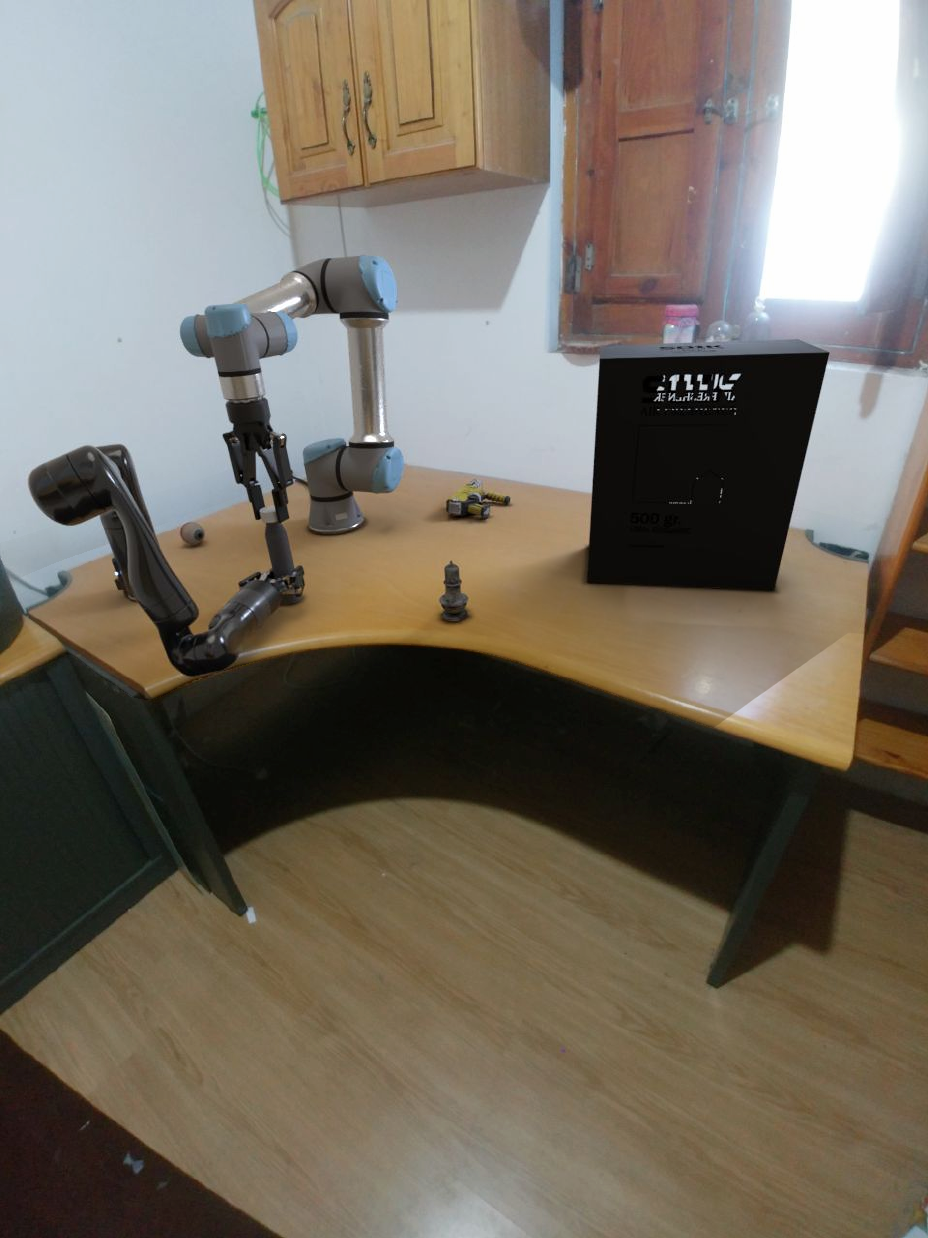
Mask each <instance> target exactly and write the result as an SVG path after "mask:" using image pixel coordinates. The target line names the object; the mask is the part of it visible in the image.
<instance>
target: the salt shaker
mask: <svg viewBox="0 0 928 1238" xmlns="http://www.w3.org/2000/svg"><path fill="white" fill-rule="evenodd" d="M443 570H444V580H443V582H442V583H443V585H444V591H445V593H444V594H442V595H441V596H440V597H439V598H438V602H439V603H440V606H441V608H442V609H443V611H442V613H441V617H442V619H444V620H445V621H448V622H449V621H450V622H459V621H463V620H465V619H466V618H467V617H468V614H469V613H468V611H467V609H466V607H467V605H468V602H469V596H468V595H467V594H466V593H463V592H462V589H461V587H462V586H461V584H462V582H463V581H462V579H461V578H460V568H459V565H457V564H455V563H454V562H453V560H450V561H449V564H447V565H445V566H444V569H443Z"/></svg>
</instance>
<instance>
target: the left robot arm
mask: <svg viewBox="0 0 928 1238" xmlns="http://www.w3.org/2000/svg"><path fill="white" fill-rule="evenodd" d="M140 485H141V484H140V482H139V477H138V474H137V470H136V467H135V463H134V460H133V457H132V454H131V452H130V451H129V449H128V448H127V446H126V445H124V444H122V443H113V444H105V445H98V446H93V445H91V444H86V445H82V446H80V447H77V448H75V449H72V450H70V451H68V452H66V453H63V454H61V455H58V456H57V457H55V458H53V459H50V460H48V461H46V462H43V463H41V464H39V465H38V466H36V467H35V468H33V469H32V470H30V472H29V474H28V477H27V487H28V490H29V493H30V496H31V498H32V500H33V502H34V503H35V505H36V506H37V508H38V509H39V510H40V511H41V512H42V514H43V515H45V516H46V517H47V518H49V519H50V520H51V521H53V522H54V523H57V524H59V525H61V526H66V527H74V526H75V527H76V526H78V525H80V524H81V525H82V524H84V523H86V522H89V521H91V520H92V519H94V518H96V517H98V516H99V520H100V522H101V525H102V527H103V531H104V533H105V536H106V538H107V542H108V543H109V547H110V549H111V551H112V554H113V557H112V558H111V562H112V565H113V568H114V570H115V572H114V574H115V576H117V578H115V579H114V580H113V581H114V584H115V586H116V589H117V590H118V591H122V592H123V594H124V597H125V598H128V599H129V600H130V601H133V602H137V604H138V605H139V606H140V608H141V609H142V610H143V612H144V613H145V614H146V615H147V617H148V618H149V620H150V621H151V622H152V624H153V625H154V626H155V628H156V629H157V633H158V635H159V639H160V641H161V643H162V645H163V648H164V651H165V653H166V656H167V659H168V661H169V663H170V665H171V666H172V667H173V668H174V669H175V670H176V671H177V672H178V673H180V674H181V675H183V676H185V677H188V678H195V677H200V676H204V675H207V674H213V673H218V672H222V671H224V670H226V669H228V668H230V667H231V666H232V665H233V664H234V663H235V662H236V661H237V660H238V658H239V657H240V653H241V651H242V649H243V647H244V644H245V642H246V641H247V640H248V638H250V636H251V635H252V634H253V633H254V632H255V631H256V630H257V629H258V630H259V628H260V627H262V626H263V625H264V623H265V622H267V620H269V618H270V617H272V615H273V614H274V613H275V612H276V611H277V610H278V608H279V607H280V604H281V603H280V602H281V599H283V598H285V597H287V595H288V594H295V596H296V597H300V596H301V597H302V596H303V592H304V590H305V586H306V583H305V578H304V576H305V569H304V567H303V565H299V564H298V565H297V566H296V567H294V568H295V569H294V570H293V571H292V573H290V574H288V575H282V576H280V577H279V578H277V579H275V578H274V574H273V569H272V567H271V568H270V569H269V570H265V571H263V573H262V572H261V571H256V572H254V573H252V574H251V575H249V576H247V577H245V578H244V579H242V580H239V581H238V582H237V585H238V588H239V589H238V590H237V592H236V593H235V594H234V595H233V596H232V597H230V599H229V600H228V601H227V602H226V604H225V605H224V606H222V607H221V609H220V610H218V611H217V612H216V613H215V614H214V615H213V616H212V618H211V619H210V621H209V622H208V626H207V627H208V630H207V631H203V632H199V633H195V634H194V633H193V631H192V630H191V625H192V624H194V623H195V622H196V621H197V620H198V618H199V616H200V609H199V607H198V605H197V603H196V602H195V600H194V598H192V596H191V595H190V593H189V592H188V590H187V589H186V587H185V586H184V584H183V583H182V581H181V580H180V579H179V577H178V576H177V574H176V573H175V571H174V570H173V568H172V567H171V565H170V563H169V562H168V560H167V558H166V556H165V555H164V552H163V551H162V549H161V546H160V543H159V540H158V537H157V534H156V531H155V528H154V525H153V522H152V520H151V519H152V518H151V516H150V514H149V510H148V507H147V505H146V501H145V498H144V495H143V492H142V488H141V486H140ZM291 578H292V582H290V579H291Z"/></svg>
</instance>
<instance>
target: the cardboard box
mask: <svg viewBox="0 0 928 1238" xmlns="http://www.w3.org/2000/svg"><path fill="white" fill-rule="evenodd" d="M830 353H831V352H830V351H827V350H825V349H823V348H820V347H818V346H816V345H813V344H811V343H808V342H806V341H803V340H801V339H799V338H795V339H791V338H790V339H789V338H788V339H766V340H764V339H763V340H759V339H758V340H733V341H730V340H729V341H700V342H699V341H698V342H697V341H696V342H669V343H639V344H638V343H636V344H635V343H634V344H609V345H608V344H606V345H605V344H604V345H600V352H599V361H598V362H599V364H598V379H597V380H598V381H597V397H596V417H595V433H594V450H593V451H594V452H593V453H594V454H593V465H592V467H593V469H592V485H591V486H592V487H591V504H590V521H589V539H588V540H589V541H588V556H587V573H586V575H587V576H586V583H591V584H593V583H594V584H612V585H613V584H614V585H615V584H616V585H633V586H634V585H636V586H655V587H656V586H657V587H659V586H660V587H676V588H677V587H678V588H679V587H680V588H701V589H724V590H725V589H726V590H741V591H742V590H744V591H766V592H775V589H776V584H777V582H778V577H779V572H780V567H781V563H782V559H783V555H784V550H785V547H786V543H787V537H788V534H789V530H790V525H791V521H792V517H793V512H794V509H795V503H796V499H797V494H798V491H799V490H798V489H799V486H800V483H801V478H802V477H801V476H802V473H803V469H804V464H805V461H806V456H807V452H808V447H809V443H810V439H811V435H812V430H813V427H814V422H815V417H816V412H817V409H818V404H819V401H820V395H821V391H822V387H823V383H824V379H825V375H826V371H827V367H828V366H827V365H828V362H829V357H830ZM700 375H701V376H702V377H701V380H698V377H699V376H700ZM717 375H718V376H717ZM734 375H739V376H738V377H737V379H731V378H732V377H733V376H734ZM674 376H678V379H677V381H676V382H675V389H672V386H673V380H671V378H672V377H674ZM686 376H690V380H689V382H690V383H689V385H690V386H692V389H687V388H688V380H685V378H686ZM716 376H717V383H716ZM721 380H722V381H721ZM720 382H721V385H720ZM715 383H716V386H715ZM701 385H702V386H706V389H701ZM726 385H732V386H731V387H730V388H726V389H724V388H721V386H726ZM659 388H663V389H659Z"/></svg>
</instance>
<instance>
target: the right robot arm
mask: <svg viewBox="0 0 928 1238" xmlns="http://www.w3.org/2000/svg"><path fill="white" fill-rule="evenodd" d="M398 297H399V296H398V287H397V282H396V277H395V275H394V273H393V270H392V269H391V267H390V264H389V263H388V262H387V261H386V260H385V258H382V257H381V256H379V255H366V254H362V255H361V254H360V255H353V256H343V257H327V258H320V259H318V260H314V261H312V262H309V263H307V264H305V265H302V266H300V267H298V268H296V269H293V270H292V271H290V272H287V273H286V274H284V275H283V276H282V277H281V278H280V280H279V282H278V283H275V284H273V285H271V286H268V287H266V288H264V289H262V290H259V291H257V292H255V293H253V294H251V295H248V296H246V297H244V298H241V299H239V300H237V301H235V302H232V303H225V304H224V303H222V304H212V305H211V304H210V305H207V306H206V307H205V309H204V312H203V313H204V314H197V313H196V314H195V315H189V316H186V317H184V318H183V320H182V321H181V323H180V325H179V336H180V340H181V343H182V345H183V347H184V349H185V350H186V352H188V353H189V354H190V355H191V356H194V357H197V358H206V359H211V358H213V359H214V362H215V365H216V370H217V375H218V379H219V383H220V388H221V392H222V397H223V399H224V400H226V402H225V408H226V409H225V410H226V413H227V417H228V421H229V422H230V423H231V424H232V430H230V431H227V432H224V433H222V439H223V441H224V442H225V444H226V447H227V452H228V456H229V460H230V463H231V464H230V465H231V468H232V472H233V476H234V480H235V483H236V484H237V485H240V484H241V485H243V486H244V488H245V489H246V494H247V498H248V501H249V503H251V506H252V510H253V515H254V519H255V521H260V520H261V516H260V509H262V508H264V507H266V503H265V499H264V495H263V491H262V486H261V484H259V480H257V456H258V457H259V458H261V460H262V463H263V465H264V468H265V471H266V472H267V475H268V477H269V479H270V482H271V484H272V487H273V488H272V489H271V491H270V492H271V497H272V501H273V506H275V511H276V515H277V520H278V523H282V524H283V523H284V522H285V521H287V520H290V513H289V509H288V505H289V497H288V492H287V488H288V487H290V486H292V485H294V483H295V482H294V480H295V481H298V482H300V483H302V484H304V485H306V486H308V492H309V498H310V507H309V513H308V528H309V529H308V530H310V531H311V532H312V533H314V534H317V535H323V536H324V535H325V536H327V535H329V536H331V535H339V534H340V535H341V534H345V533H350V532H353V531H355V530H357V529H359V528H361V527H362V526H363V525H364V523H365V519H364V514H363V512H362V510H361V508H360V505H359V504H358V501H357V500H356V498H355V495H354V492H359V493H371V494H372V493H373V494H375V495H378V494H390V493H392V492H394V491H395V490H396V489H397V488H398V486H399V485H400V482H401V481H402V478H403V474H404V466H405V459H404V455H403V452H402V450H401V449H400V448H398V447H396V446H395V438H393V436H392V435H391V434H389V431H388V430H389V429H388V427H389V426H388V409H387V406H388V405H387V390H386V388H387V387H386V368H385V367H386V366H385V364H386V363H385V342H384V328H385V327H386V326H387V325H388V324H389V322H390V315H389V314H391V313H392V312H394V311H395V309H396V308H397V303H398V300H399V299H398ZM334 314H335V315H339V322H340V323H341V324H342V326H344V327H345V328H346V336H347V338H346V339H347V350H348V352H347V353H348V364H349V365H348V367H349V381H350V383H349V384H350V394H351V409H352V425H353V427H352V428H353V433H352V435H351V436H350V437H349V438H348V441H346V439H345V438H342V437H334V438H328V439H323V440H320V441H319V440H318V441H316V442H313V443H309V444H308V445H306V446H305V447H304V448H303V450H302V457H303V458H302V460H303V467H304V471H305V477H306V480H304V479H301V478H299V477H296V476H294V474H293V473H294V471H293V469H292V468H291V463H290V458H289V454H288V450H287V441H288V437H287V434H285V433H284V432H282V433H278V432H276V431H274V428H273V426H272V424H271V423H270V422H271V421H270V420H271V417H272V415H271V414H272V413H271V411H270V409H271V408H270V405H269V400H268V399H267V398H266V397H265V395H266V394H267V391H266V387H265V381H264V378H263V377H264V376H263V371H262V367H261V366H262V365H261V362H260V360H261V359H266V358H271V357H272V358H273V357H278V356H284V355H285V354H287V353H290V352H292V351H293V350H294V349H295V348H296V346H297V343H298V339H299V336H298V335H299V334H298V330H297V329H298V328H297V326H296V323H295V322H294V320H295V319H296V318H298V319H306V318H309V317H311V316H313V315H334ZM347 442H348V443H347ZM347 444H348V445H347Z"/></svg>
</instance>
